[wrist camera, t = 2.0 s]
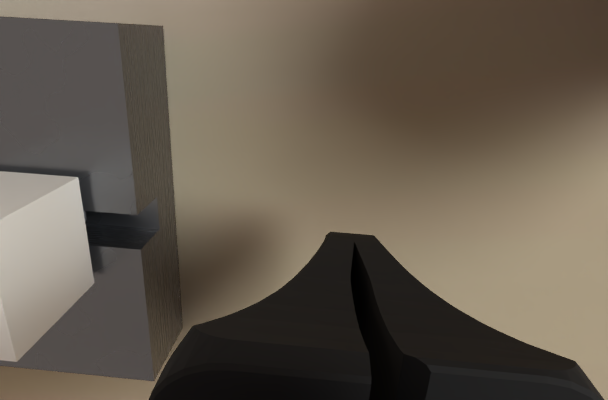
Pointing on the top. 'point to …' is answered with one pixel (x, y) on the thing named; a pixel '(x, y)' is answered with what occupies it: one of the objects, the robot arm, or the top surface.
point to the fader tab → (39, 256)
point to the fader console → (100, 182)
